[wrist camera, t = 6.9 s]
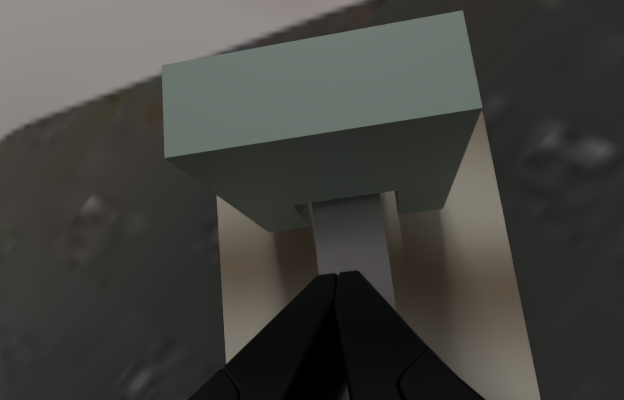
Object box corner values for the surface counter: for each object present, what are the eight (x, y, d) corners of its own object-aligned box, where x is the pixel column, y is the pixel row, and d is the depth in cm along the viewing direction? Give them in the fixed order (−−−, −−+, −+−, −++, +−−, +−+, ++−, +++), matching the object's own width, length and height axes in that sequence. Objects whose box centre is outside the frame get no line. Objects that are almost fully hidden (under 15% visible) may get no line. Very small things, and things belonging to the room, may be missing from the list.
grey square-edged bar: (415, 402, 16) (420, 423, 13) (341, 408, 17) (326, 430, 13) (374, 114, 19) (368, 67, 15) (310, 124, 19) (291, 81, 16)
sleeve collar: (442, 209, 17) (482, 107, 9) (268, 232, 18) (164, 158, 10) (430, 134, 18) (456, -22, 10) (262, 159, 19) (161, 35, 11)
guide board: (540, 423, 16) (545, 426, 16) (236, 446, 18) (231, 450, 17) (479, 117, 19) (482, 110, 18) (219, 157, 20) (214, 152, 20)
